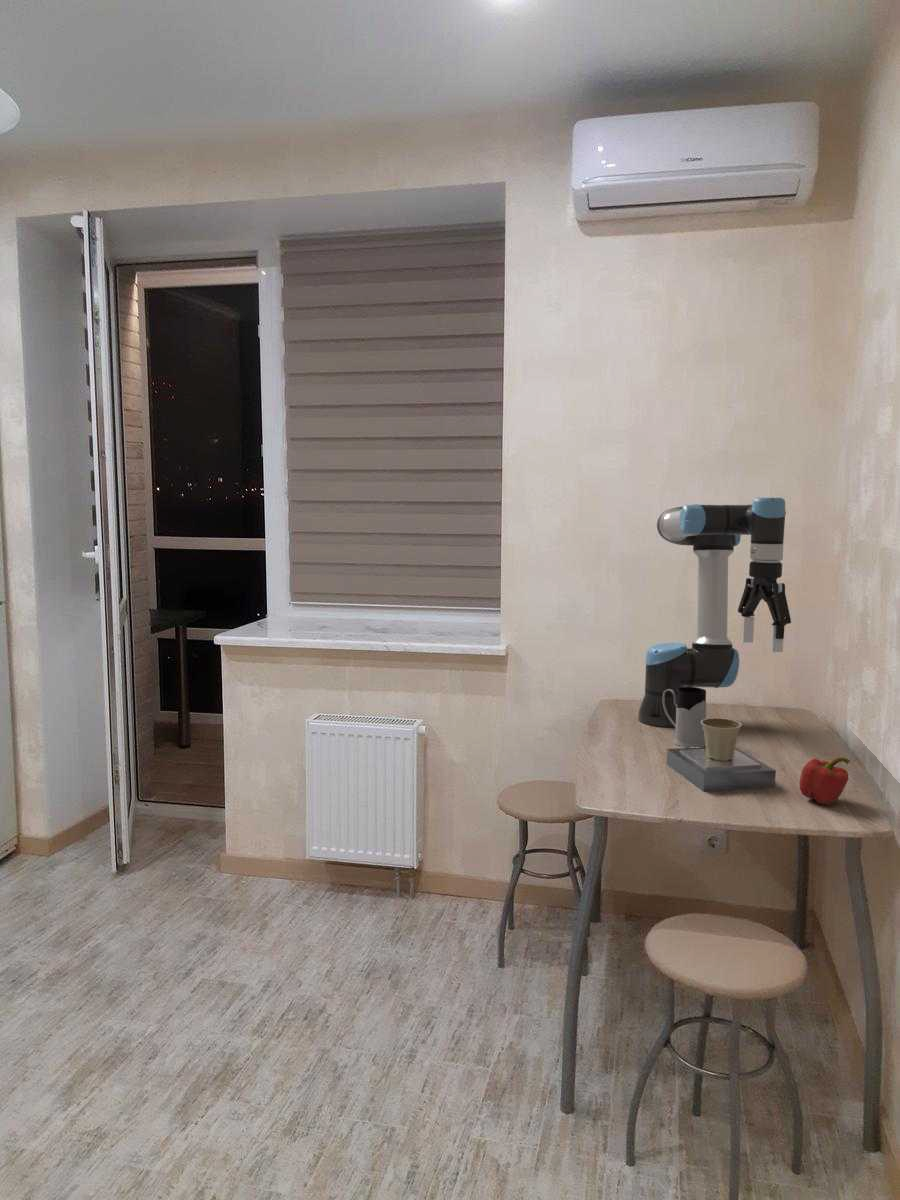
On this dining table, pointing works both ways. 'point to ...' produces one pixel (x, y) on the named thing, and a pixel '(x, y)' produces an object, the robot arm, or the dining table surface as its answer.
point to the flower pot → (720, 737)
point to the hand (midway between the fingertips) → (761, 647)
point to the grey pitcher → (688, 716)
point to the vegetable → (823, 780)
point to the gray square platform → (720, 770)
